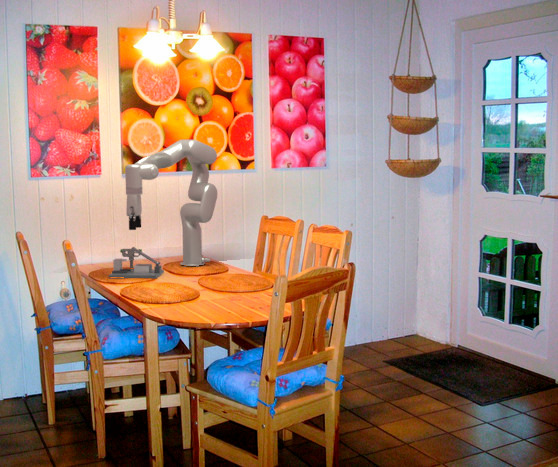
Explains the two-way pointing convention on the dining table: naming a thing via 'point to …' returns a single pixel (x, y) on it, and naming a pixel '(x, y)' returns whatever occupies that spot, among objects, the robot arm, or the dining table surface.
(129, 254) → the mechanical component
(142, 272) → the heatsink
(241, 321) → the dining table surface
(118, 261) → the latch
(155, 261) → the silver metal bar
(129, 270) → the socket board
